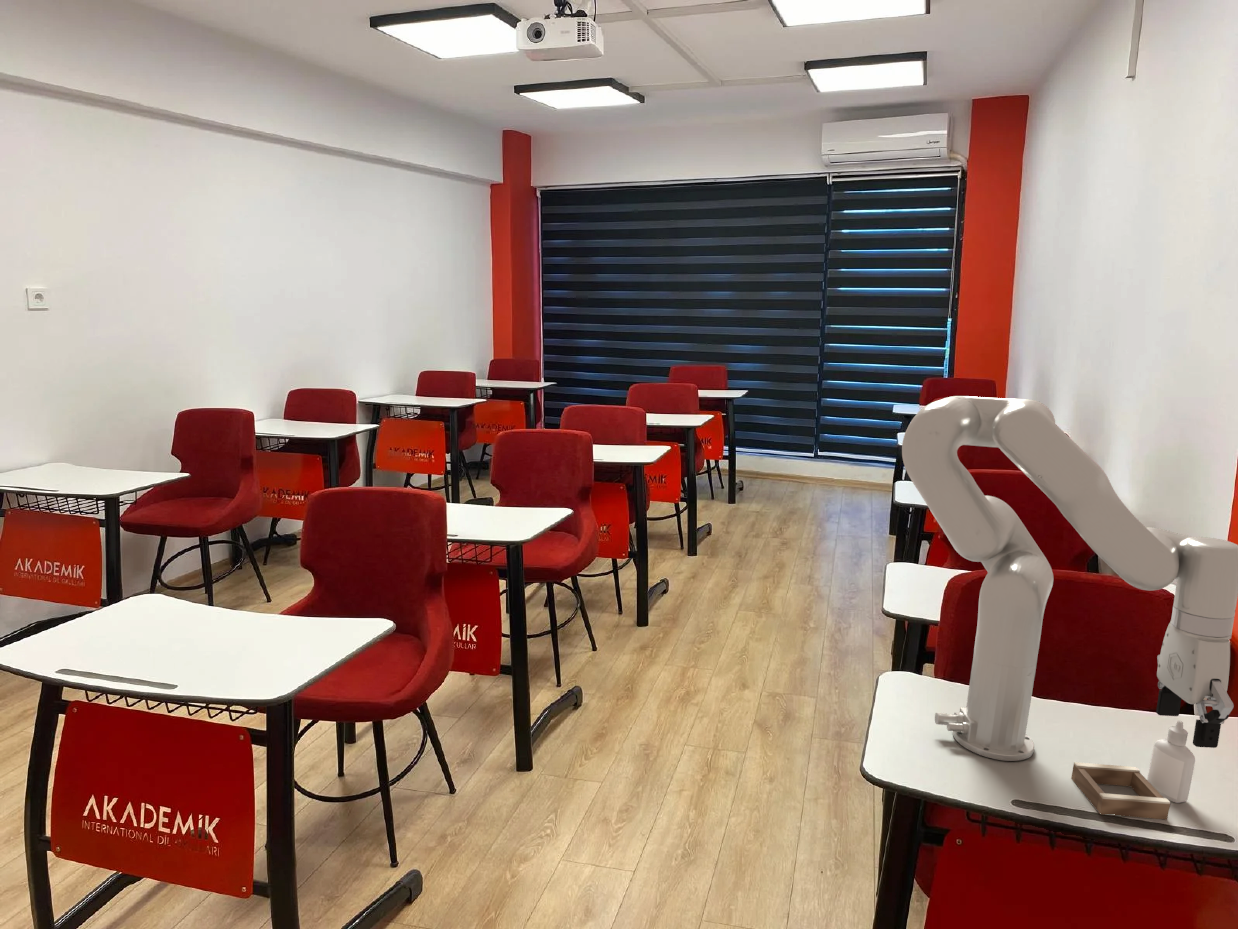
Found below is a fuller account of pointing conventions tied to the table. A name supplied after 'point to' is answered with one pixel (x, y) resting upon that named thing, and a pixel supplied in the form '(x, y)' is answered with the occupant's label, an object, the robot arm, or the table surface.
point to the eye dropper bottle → (1172, 765)
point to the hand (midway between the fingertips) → (1185, 730)
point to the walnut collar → (1124, 805)
